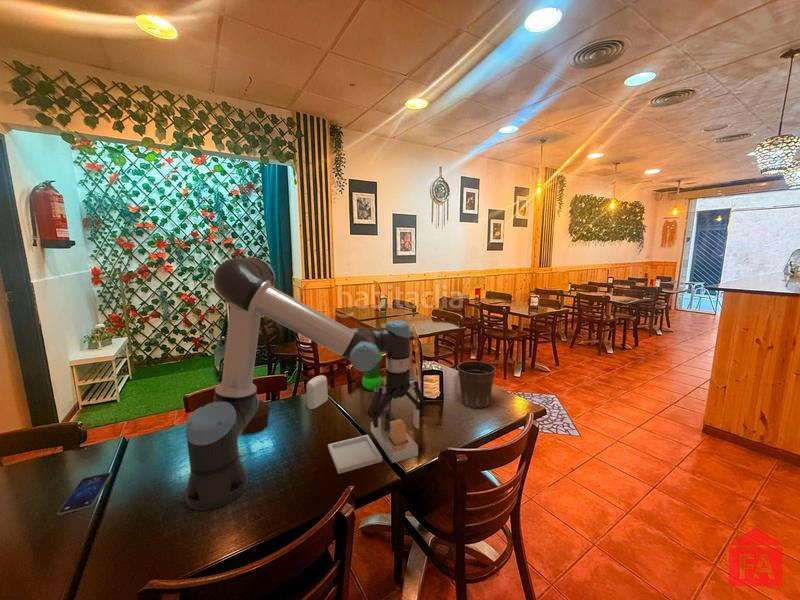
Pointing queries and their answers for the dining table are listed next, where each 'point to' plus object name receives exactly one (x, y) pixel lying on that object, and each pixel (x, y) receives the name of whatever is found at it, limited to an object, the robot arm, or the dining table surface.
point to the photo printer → (316, 391)
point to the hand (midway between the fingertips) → (397, 431)
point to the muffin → (258, 419)
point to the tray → (354, 453)
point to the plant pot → (476, 383)
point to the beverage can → (380, 401)
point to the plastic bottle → (372, 376)
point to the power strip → (391, 451)
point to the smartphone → (85, 494)
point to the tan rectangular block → (397, 432)
